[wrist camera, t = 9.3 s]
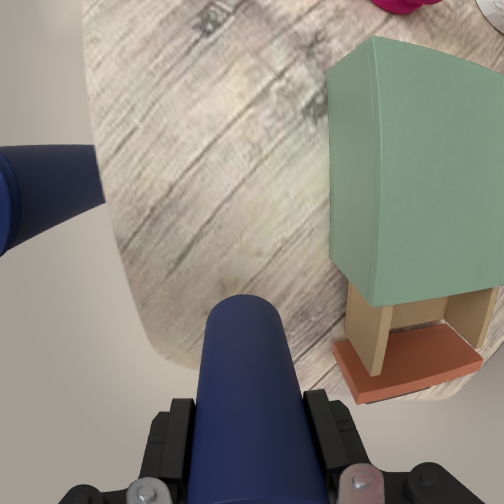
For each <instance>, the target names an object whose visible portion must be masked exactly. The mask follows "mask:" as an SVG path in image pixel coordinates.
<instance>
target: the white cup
mask: <svg viewBox="0 0 504 504" xmlns="http://www.w3.org/2000/svg"><path fill="white" fill-rule="evenodd" d="M476 1H477V4H478V6H479V8H480V10H481V11H482V13H483V15H484V16H485V17H486V19H487V20H488V21H489V22H490V23H491V25H492V26H493V27H495V28H496V29H497V30H499V31H500V32H501V33H504V0H476Z"/></svg>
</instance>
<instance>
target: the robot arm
mask: <svg viewBox="0 0 504 504" xmlns="http://www.w3.org/2000/svg"><path fill="white" fill-rule="evenodd" d="M303 402H304V406H305V409H306V413H307V417H308V421H309V424H310V428H311V432H312V436H313V439H314V443H315V447H316V451H317V454H318V458H319V462H320V466H321V470H322V473H323V477H324V481H325V485H326V489H327V493H328V497H329V500H330V504H485V503H484V502H483V501H481V500H480V499H479V498H478V497H477V496H476V495H474V494H473V493H472V492H471V491H470V490H468V489H467V488H466V487H465V486H464V485H463V484H461V483H460V482H459V481H458V480H457V479H456V478H455V477H453V476H452V475H451V474H450V473H449V472H448V471H446V470H445V469H444V468H443V467H442V466H440V465H439V464H436V463H432V462H425V463H421V464H419V465H417V466H415V467H414V468H413V469H412V470H411V472H385V471H382V470H380V469H378V468H377V467H375V466H374V465H373V464H372V463H371V462H370V460H369V458H368V456H367V453H366V451H365V448H364V446H363V443H362V441H361V438H360V436H359V434H358V431H357V429H356V426H355V424H354V421H353V419H352V416H351V414H350V411H349V409H348V408H347V407H346V406H345V405H344V404H343V403H342V402H341V401H340V400H335V401H329V400H328V397H327V394H326V392H325V390H324V389H318V390H311V391H304V393H303ZM194 414H195V403H194V400H193V399H192V398H188V399H187V398H185V399H184V398H182V399H179V398H178V399H177V398H173V399H172V403H171V408H170V412H159V413H158V415H157V416H156V417H155V418H154V419H153V421H152V424H151V428H150V434H149V436H148V440H147V441H148V443H147V445H146V449H145V454H144V457H143V462H142V466H141V471H140V475H139V478H138V479H137V480H135V481H134V482H133V483H132V484H130V486H129V487H128V488H126V489H124V490H119V491H111V492H101V493H100V491H99V490H98V489H96V488H95V487H93V486H91V485H85V484H82V485H77V486H75V487H73V488H71V489H70V490H69V491H68V492H67V494H66V495H65V496H64V497H63V499H62V500H61V501H60V502H59V503H58V504H185V503H186V491H187V480H188V470H189V460H190V450H191V441H192V431H193V423H194Z"/></svg>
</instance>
